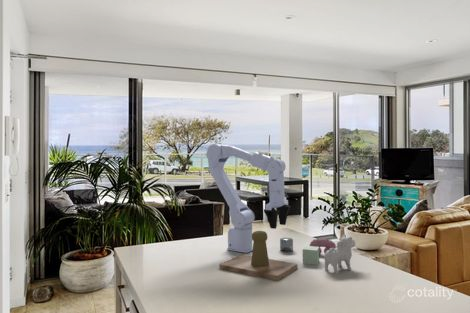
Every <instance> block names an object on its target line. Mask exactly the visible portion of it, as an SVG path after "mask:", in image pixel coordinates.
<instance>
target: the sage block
mask: <svg viewBox="0 0 470 313" xmlns="http://www.w3.org/2000/svg"><path fill="white" fill-rule="evenodd" d="M319 262H320V254H319V247H315V246H310V245H304V246H303V248H302V264H304V265H305V264H306V265H314V266H315V265H318V264H319Z"/></svg>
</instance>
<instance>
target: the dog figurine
mask: <svg viewBox="0 0 470 313" xmlns="http://www.w3.org/2000/svg"><path fill="white" fill-rule="evenodd" d="M355 246H356V242H355V240H354V239H353V237H352V236H348V237H347V234H343V235H342V237H341V238H340V240H338V241H337V242H336V248H331V249H329V250H328V251H326V253H324V254H323V259H324V270H325V271H326V272H327V271H329V266H332V267H333V274H339V271H338V267H340V268H341V267H343V264H342V262H343V261H344V264H345V266H346V267H347V268H346V269H347V270H349V269H351V270H352V267H351V259H352V256H353V253H352V248H355Z"/></svg>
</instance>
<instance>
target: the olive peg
mask: <svg viewBox="0 0 470 313" xmlns="http://www.w3.org/2000/svg"><path fill="white" fill-rule="evenodd" d="M267 240H268V234H267V232H266V231H264V230H256V231H252V246H253V250H252V251H251V256H252V260H251V265H252V266H255V267H265V266H268V265H269V260H268V259H269V254H268V247H267Z"/></svg>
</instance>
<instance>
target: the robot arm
mask: <svg viewBox="0 0 470 313" xmlns="http://www.w3.org/2000/svg"><path fill="white" fill-rule="evenodd" d="M205 156H206V158H207V163H208V171H209V172H210V174H211V176H212V178H213V180H214V183H216V186H217V187H218V189H219V191H220V193H221V195H222V196H223V198H224V200H225V202H226V203H227V206H228V207H229V211H228V214H229V216H230V222H231V224H232V226H230V227H229V228H228V231H227V247H226V250H227V251H233V252H238V253H239V252H240V253H244V254H247V253H249V252H252V251H253V240H252V233H253V222H255V218H256V216H255V213H254V212H253V210H252V209H250V208H249V207H248V205H247V204H245V202H243V201H242V200H241V197H240V196H239V194H238V193H237V191H236V189H235V187H234V185H233V183H232V182H231V180H230V178H229V177H228V175H227V174H226V171H225V170H224V167H225V164H226V162H227V161H228V160H229V158H230V157H234V158H237V159H240V160H244V161H247V162H249V163H250V166H252V167H253V168H254V167H255V168H257V169H259V170H262V171H264V172H267V173H268V191H269V202H268V203H266V204H265V209H263V213H264V214H265V216H266V218H267V221H268V224H269V228H270V229H273V230H276V229H277V226H278V224H277V223H278V222H279V225H281V226H285V225H286V224H287V219H288V215H289V212H290V209H291V205H289V200H288V199H285V197H286V196H285V194H286V193H285V176H284V175H285V174H284V173H285V170H286V163H285V161H283V160H282V159H281V158H275V157H274V156H273V155H272V156H271V155H270V156H269V155H266V154H264V153H263V152H262V151H259V152H257V151H255V152H253V153H252V152H249V151H246V150H244V149H241V148H239V147H236V146H234V145H230V144H226V143H223V144H222V143H221V144H218V143H217V144H216V143H212V144H210V145H209V146H208V148H207V150H206V154H205Z"/></svg>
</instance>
